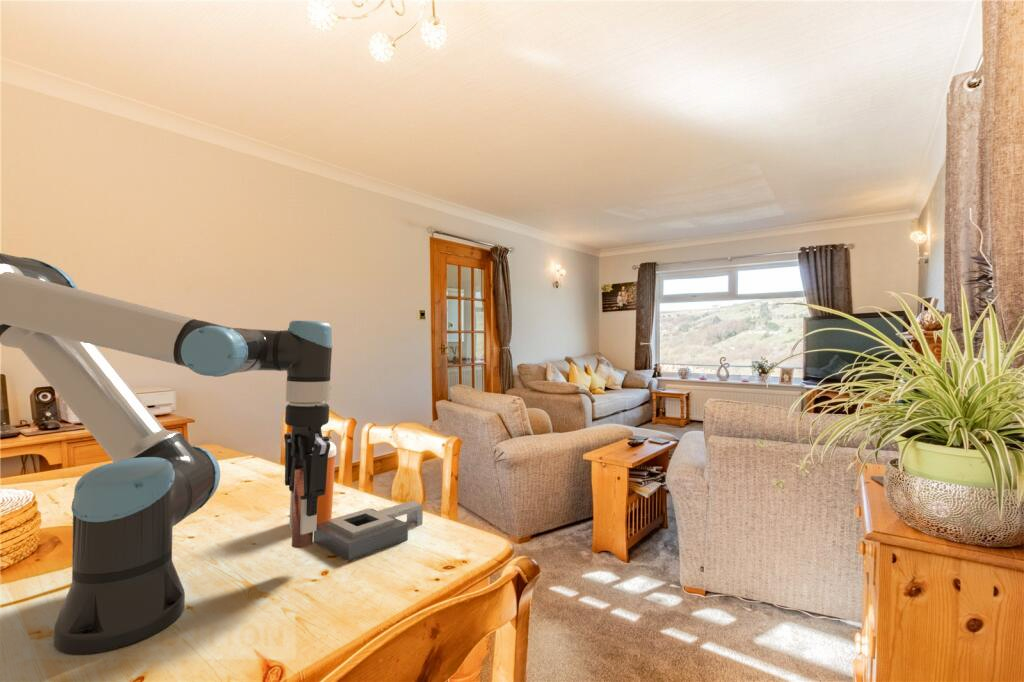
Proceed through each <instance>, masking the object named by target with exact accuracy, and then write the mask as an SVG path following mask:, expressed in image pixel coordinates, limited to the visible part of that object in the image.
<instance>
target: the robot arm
mask: <svg viewBox="0 0 1024 682" xmlns="http://www.w3.org/2000/svg"><path fill="white" fill-rule="evenodd" d="M332 335H333V334H332V326H331V324H330V323H328V322H326V321H320V320H319V321H318V320H317V321H316V320H291V321H290V322H289V324H288V328H287V329H285V330H272V329H252V328H243V327H242V328H241V327H229V326H225V325H220V324H217V323H213V322H209V321H205V320H199V319H195V318H192V317H189V316H188V317H187V316H184V315H182V314H181V315H180V314H177V313H173V312H170V311H169V312H168V311H165V310H161V309H157V308H153V307H149V306H146V305H142V304H141V305H140V304H137V303H134V302H133V303H132V302H129V301H125V300H121V299H118V298H114V297H109V296H105V295H102V294H99V293H98V294H97V293H93V292H91V291H86V290H82V289H79V288H78V286H77V284H76V283H75V281H74V279H73V278H72V277H71V276H70V275H69V274H68V273H66V271H64V270H63V269H60V268H59V267H57V266H55V265H53V264H49V263H47V262H45V261H42V260H39V259H35V258H30V257H23V256H22V257H19V256H15V255H11V254H6V253H1V252H0V344H1V345H2V346H5V347H8V348H14V349H20V350H21V352H23V354H25V356H26V357H27V358H28V360H29V361H30V362H31V363H32V364H33V365H34V367H35V368H36V369H37V371H38V372H39V373H40V374H41V375H42V377H43V378H44V379H45V380H46V382H47V383H48V384H49V385H50V386H51V387H52V389H53V390H54V391H55V392H56V393H57V394H58V396H59V397H60V398H61V399H62V401H63V402H64V403H65V405H66V406H67V407H68V408H69V409H70V411H72V413H73V414H74V415H75V416H76V418H77V419H78V420H79V421H80V422H81V424H82V425H83V426H84V427H85V429H86V430H87V431H88V433H89V434H91V436H92V437H93V438H94V439H95V441H96V442H97V443H98V444H99V446H101V448H102V449H103V450H104V452H105V453H106V454H107V455H108V457H109V458H110V459H111V460H112V462H110V463H107V464H106V463H105V464H104V465H100V466H98V467H96V468H93V469H91V470H89V471H87V472H86V473H85V474H83V475H82V476H81V477H80V478H78V481H77V482H76V484H75V487H74V492H73V493H74V495H73V499H72V502H71V512H72V555H71V556H72V557H71V560H72V561H71V563H72V564H71V567H72V570H71V571H72V574H71V575H72V576H71V577H72V578H71V585H70V587H69V590H68V592H67V594H66V596H65V599H64V602H63V604H62V607H61V609H60V612H59V614H58V617H57V619H56V622H55V624H54V629H53V646H54V647H55V648H56V649H57V650H58V651H60V652H62V653H65V654H75V655H81V654H82V655H86V654H93V653H94V654H95V653H101V652H106V651H111V650H114V649H119V648H122V647H125V646H129V645H132V644H134V643H137V642H139V641H142V640H144V639H146V638H149V637H151V636H153V635H155V634H157V633H158V632H161V631H162V630H165V628H167V627H169V626H170V625H171V624H173V623H174V622H175V621H177V620H178V618H180V616H181V615H182V614H183V613H184V611H185V604H186V603H185V601H186V600H185V599H186V597H185V595H186V594H185V589H184V586H183V584H182V582H181V578H180V577H179V574H178V572H177V570H176V567H175V565H174V562H173V527H174V526H176V525H178V524H179V523H181V522H182V521H183V520H184V519H186V518H187V517H189V516H190V515H192V514H194V513H196V512H197V511H199V509H201V508H203V507H204V506H205V504H206V503H207V502H208V501H209V500H210V499H211V498H213V496H214V494H215V493H216V491H217V490H218V487H219V484H220V481H221V468H220V465H219V463H218V460H217V458H216V457H215V456H214V455H213V454H212V453H211V452H210V451H209V450H208V449H206V448H203V447H199V446H195V445H192V444H190V442H189V441H188V440H187V439H186V437H185V436H184V435H183V434H182V433H181V432H180V431H176V430H169V429H166V428H165V427H164V426H163V424H162V423H161V422H160V420H158V418H157V417H156V416H155V415H154V413H153V412H152V411H151V410H150V408H149V407H148V406H147V404H145V402H144V401H143V400H142V398H141V397H140V396H139V395H138V394H137V393H136V391H135V390H134V389H133V388H132V386H131V385H130V384H129V383H128V381H127V380H126V379H125V378H124V376H123V375H122V374H121V372H120V371H119V370H118V369H117V368H116V366H115V365H114V364H113V363H112V362H111V360H110V359H109V358H108V357H107V356H106V354H105V352H104V351H103V350H102V349H101V348H104V349H110V350H114V351H118V352H123V353H128V354H131V355H136V356H138V357H139V356H140V357H143V358H148V359H152V360H157V361H162V362H166V363H169V364H174V365H177V366H181V367H185V368H188V369H189V370H191V371H192V372H194V373H195V374H198V375H200V376H206V377H214V378H215V377H218V378H219V377H225V376H229V375H231V374H237V373H243V372H246V373H247V372H252V371H278V372H283V371H285V372H286V374H287V375H286V381H285V382H286V383H285V385H286V386H285V402H286V403H287V405H286V406H285V415H284V417H285V419H284V422H285V425H287V426H289V427H292V429H291V432H289V433H288V432H287V433H284V435H283V439H284V444H285V445H284V447H285V448H284V450H285V453H284V454H285V455H284V456H285V457H284V458H285V459H284V460H285V461H284V485H285V486H286V487H287V486H288V489H289V492H290V500H289V501H290V505H289V523H288V524H289V528H290V529H292V523H293V499H294V476H295V469H296V468H299V467H303V476H304V496H300V498H301V521H300V534H301V535H303V534H306V533H310V532H313V533H314V531H316V526H317V502H318V496H321V495H325V490H326V476H327V462H328V453H329V450H330V442H331V441H330V442H324V441H323V440H322V436H323V433H322V427H323V426H325V425H327V424H328V423H329V421H330V419H329V418H330V405H329V404H328V402H329V401H330V394H331V393H330V392H331V390H330V389H332V386H331V369H332V354H333V353H332V351H333V344H332V343H333V341H332V339H333V337H332ZM311 454H312V455H311Z"/></svg>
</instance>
